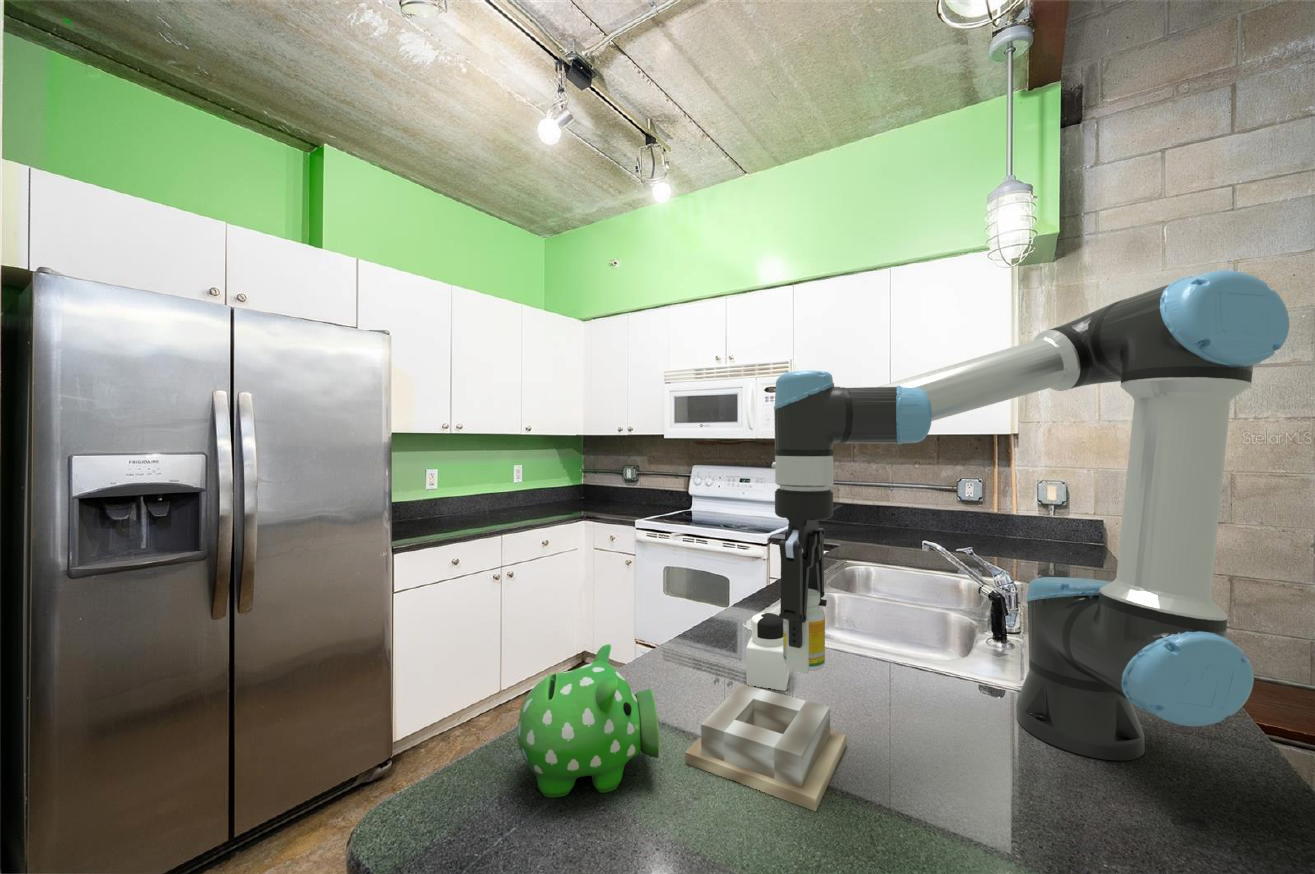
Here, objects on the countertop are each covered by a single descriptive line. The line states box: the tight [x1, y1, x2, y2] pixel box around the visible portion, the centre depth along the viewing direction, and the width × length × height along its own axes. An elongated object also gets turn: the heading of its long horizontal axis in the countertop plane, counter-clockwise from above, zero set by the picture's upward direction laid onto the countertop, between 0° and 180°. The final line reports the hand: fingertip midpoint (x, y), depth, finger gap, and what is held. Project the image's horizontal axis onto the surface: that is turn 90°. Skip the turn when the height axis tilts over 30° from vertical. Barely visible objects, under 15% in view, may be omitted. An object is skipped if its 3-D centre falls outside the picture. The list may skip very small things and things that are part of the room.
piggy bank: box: [517, 643, 660, 798], centre depth 70 cm, size 14×18×15 cm
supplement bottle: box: [783, 588, 826, 672], centre depth 69 cm, size 5×5×10 cm
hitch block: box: [684, 683, 847, 812], centre depth 74 cm, size 18×16×6 cm
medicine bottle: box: [745, 612, 791, 692], centre depth 97 cm, size 7×7×12 cm
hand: (804, 661), depth 69 cm, fingers closed on supplement bottle, 5 cm apart
